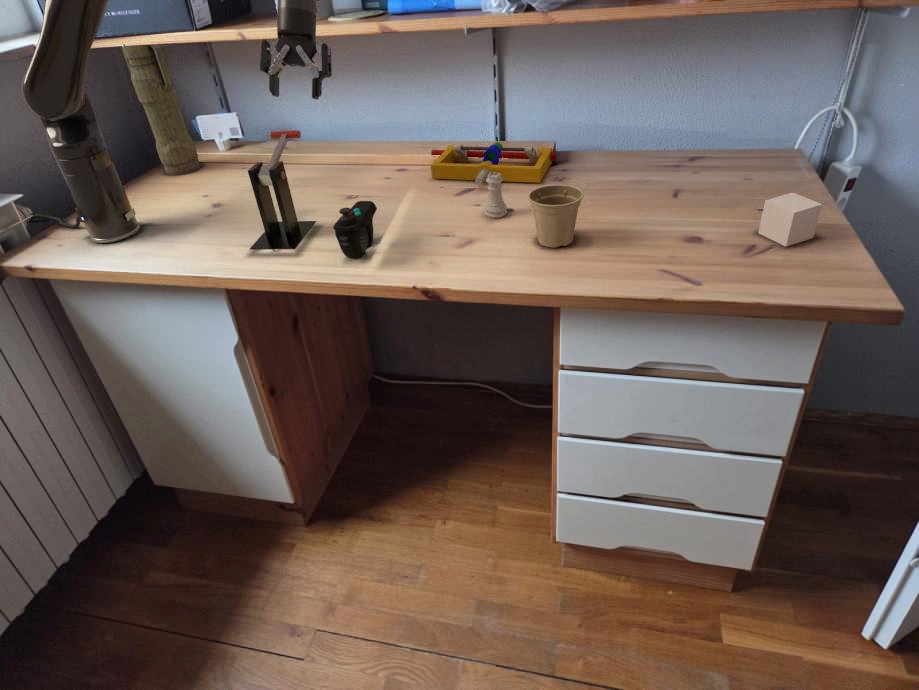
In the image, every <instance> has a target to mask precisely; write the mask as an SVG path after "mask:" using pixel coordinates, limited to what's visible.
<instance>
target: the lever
mask: <svg viewBox="0 0 919 690" xmlns="http://www.w3.org/2000/svg"><path fill="white" fill-rule="evenodd" d="M269 136H270V138H271V140H278V141H277V144H276V146H275V148H274V150H273V153H272V154H271V157H270V159H269V161H268V164H266V165H264V164H263V165H262V167H261V169H260V171H259V174H258V177H259V179H260V181H261V183H262V186H269V187H271V186H272V187H273V185H272V181H271V177H270V173H269V169H270V168H271V167H272V166H273V165H275V164H276V163H277V162H278V161H280V159H281V157H282V154H283V152H284V149H285V148H286V145H287V143H288V141H289V139H290V140H291V139H292V140H293V139H301V137H302V134H301V131H300V129H299V130H278V131H277V130H276V131H275V130H274V131H272V130H271V132H270V135H269Z"/></svg>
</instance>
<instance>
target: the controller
mask: <svg viewBox="0 0 919 690" xmlns="http://www.w3.org/2000/svg"><path fill="white" fill-rule="evenodd" d="M377 209H378V207H377V206H376V204H375V202H374V201H371V200H359V201H356V202H355V203H354V204H353V206H351V207H341V208H340V209H339V211H338V212H339V214H340V215H341V216H340V217H338V218H339V219H337V221H336V222H335V223H334V225H333V227H332V229H333V230H334V235H335V238H336V240H337V242H338V245H339V248H340V250H341V252H342V254H343V255H344V256H345V257H347V258H348V259H360V258H363V257H364V256H366V252H367V250H368V249H370V248H371V247H372V246H373V242H374V225H373V224H374V222H373V220H374V217H375V214H376V212H377Z"/></svg>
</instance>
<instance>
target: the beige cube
mask: <svg viewBox="0 0 919 690" xmlns="http://www.w3.org/2000/svg"><path fill="white" fill-rule="evenodd" d="M822 208H823V203H821V202H817V201H815V200H813V199H810V198H808V197H806V196H803V195H801V194H797V193H796V192H790V193H785V194H782V195H778V196H776V197H772V198H769V199H766V200H764V206H763V208H762V214H761V219H760V224H759V228H758V232H757V233H758V235H761V236H763V237H765V238H767V239H769V240H771V241H774V242H775V243H778V244H780V245H781V246H784V247H785V248H786V247H790V246H792V245H795V244H799V243H802V242H805V241H808V240H812V239H814V236H815V233H816V229H817V227H818V222H819V218H820V216H821V215H820V214H821V212H822Z"/></svg>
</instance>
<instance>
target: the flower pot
mask: <svg viewBox="0 0 919 690" xmlns="http://www.w3.org/2000/svg"><path fill="white" fill-rule="evenodd" d="M584 196H585V195H584V192H583V190H582V189H581V188H579V187H577V186H574V185H569V184H548V185H542V186H538V187H535V188H534V189H532V190H530V191H529V192H528V194H527V199H528V201H529V202H530V207H531V209H532V211H533V218H534V224H535V230H536V236H537V238H536V239H537V241H538V243H539V244H540V245H541V246H543V247H546V248H553V249H554V248H558V247H561V246H562V247H566V246H568V245H570V244H571V243H572V242H573V241H574V236H575V235H574V234H575V230H576V229H575V228H576V223H577V217H578V212H579V207H580V206H581V203H582V200H583V199H584Z"/></svg>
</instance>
